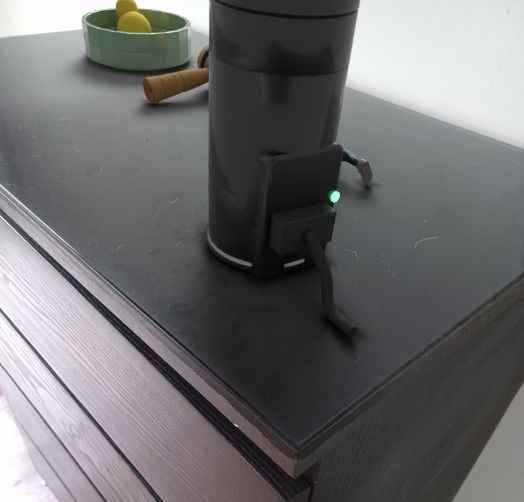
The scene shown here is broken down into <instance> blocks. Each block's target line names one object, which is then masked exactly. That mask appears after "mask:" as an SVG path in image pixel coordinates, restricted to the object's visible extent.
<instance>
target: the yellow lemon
mask: <svg viewBox="0 0 524 502" xmlns="http://www.w3.org/2000/svg"><path fill="white" fill-rule="evenodd" d="M115 8H116V12H117V15H118V16H119V18H120V19H119V21H118V24H117V31H121V32H130V33H152V32H151V27H150V24H149V22H148V20H147V19H146V18H145V17H144V16H143V15H142V14H140V13H138V8H139V7H138V5H137V2H136V1H135V0H116V3H115Z"/></svg>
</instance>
